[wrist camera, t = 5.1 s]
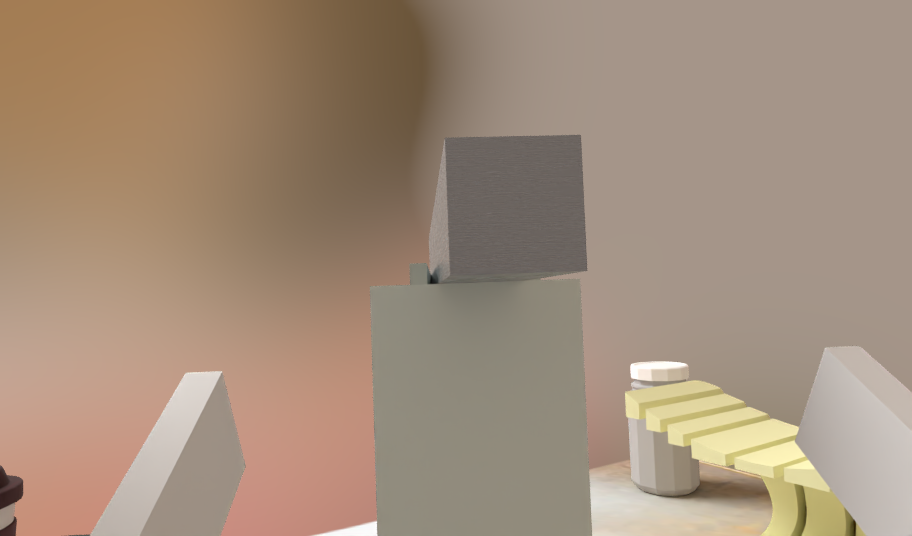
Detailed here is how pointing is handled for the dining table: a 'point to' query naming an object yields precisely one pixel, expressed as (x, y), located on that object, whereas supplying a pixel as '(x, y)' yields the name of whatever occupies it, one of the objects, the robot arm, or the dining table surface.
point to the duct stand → (480, 408)
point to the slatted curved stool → (746, 452)
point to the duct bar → (508, 210)
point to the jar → (660, 440)
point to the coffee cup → (9, 502)
